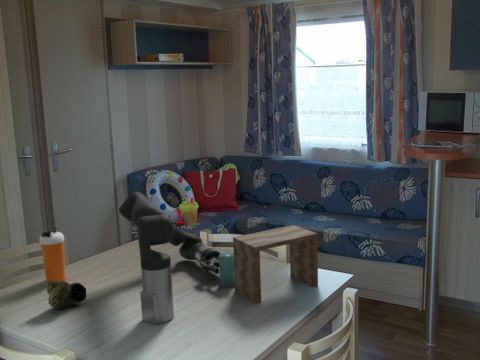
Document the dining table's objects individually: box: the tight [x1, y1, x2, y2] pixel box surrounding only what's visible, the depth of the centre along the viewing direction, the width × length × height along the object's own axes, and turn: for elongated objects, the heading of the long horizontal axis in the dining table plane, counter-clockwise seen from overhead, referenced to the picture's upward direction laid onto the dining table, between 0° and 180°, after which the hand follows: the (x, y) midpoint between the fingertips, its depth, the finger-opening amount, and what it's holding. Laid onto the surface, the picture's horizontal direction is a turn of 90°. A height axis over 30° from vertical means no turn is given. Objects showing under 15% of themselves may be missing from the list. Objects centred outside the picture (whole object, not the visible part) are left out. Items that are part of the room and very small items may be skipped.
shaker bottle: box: [38, 227, 67, 282], centre depth 203 cm, size 9×9×20 cm
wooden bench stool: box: [232, 224, 319, 304], centre depth 187 cm, size 14×26×20 cm, turn 120°
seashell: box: [45, 280, 87, 310], centre depth 178 cm, size 11×11×10 cm
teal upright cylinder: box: [218, 252, 235, 288], centre depth 194 cm, size 6×6×11 cm
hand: (228, 268), depth 192 cm, fingers open, 8 cm apart
